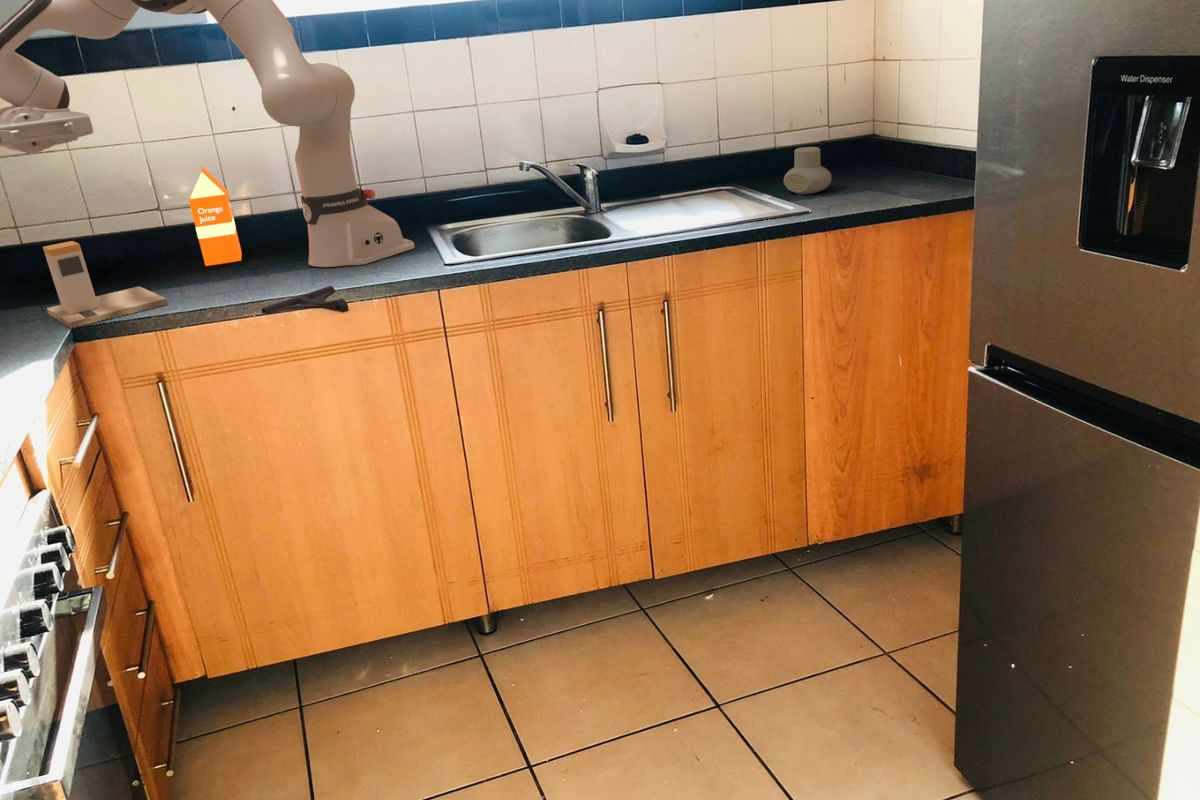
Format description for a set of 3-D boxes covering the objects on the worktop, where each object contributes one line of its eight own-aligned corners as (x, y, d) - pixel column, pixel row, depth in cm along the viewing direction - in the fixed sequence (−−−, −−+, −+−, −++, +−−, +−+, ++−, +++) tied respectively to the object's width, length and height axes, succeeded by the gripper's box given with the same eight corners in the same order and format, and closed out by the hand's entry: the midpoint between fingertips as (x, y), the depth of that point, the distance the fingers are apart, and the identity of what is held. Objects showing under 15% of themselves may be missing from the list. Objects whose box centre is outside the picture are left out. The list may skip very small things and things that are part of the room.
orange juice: (204, 266, 207) (181, 173, 199) (206, 258, 215) (184, 168, 207) (242, 260, 209) (220, 168, 201) (242, 252, 217) (221, 163, 209)
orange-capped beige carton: (91, 303, 179) (72, 240, 174) (99, 307, 175) (79, 244, 171) (62, 310, 176) (42, 246, 172) (70, 314, 172) (49, 250, 168)
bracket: (311, 327, 158) (307, 311, 157) (262, 316, 167) (259, 301, 166) (380, 304, 168) (377, 288, 167) (330, 294, 177) (327, 280, 176)
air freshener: (837, 190, 221) (837, 146, 217) (815, 197, 216) (815, 152, 213) (800, 187, 229) (799, 145, 225) (778, 193, 224) (777, 150, 221)
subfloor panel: (141, 292, 190) (139, 285, 189) (167, 304, 178) (165, 298, 178) (48, 314, 180) (46, 307, 179) (70, 329, 168) (68, 322, 168)
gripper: (-39, 121, 182) (-25, 122, 172) (75, 106, 194) (94, 107, 184) (-28, 154, 184) (-14, 157, 174) (84, 138, 196) (104, 140, 186)
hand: (43, 132), depth 179 cm, fingers open, 8 cm apart
